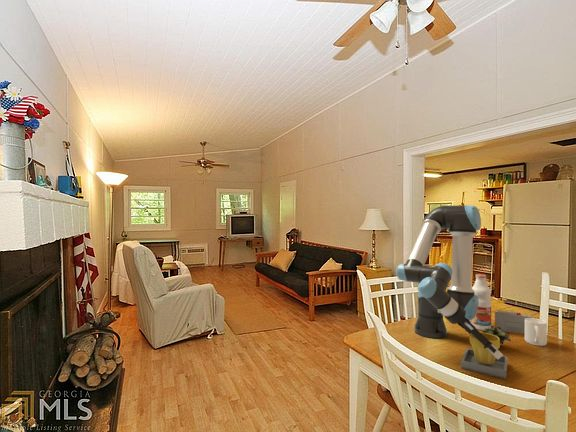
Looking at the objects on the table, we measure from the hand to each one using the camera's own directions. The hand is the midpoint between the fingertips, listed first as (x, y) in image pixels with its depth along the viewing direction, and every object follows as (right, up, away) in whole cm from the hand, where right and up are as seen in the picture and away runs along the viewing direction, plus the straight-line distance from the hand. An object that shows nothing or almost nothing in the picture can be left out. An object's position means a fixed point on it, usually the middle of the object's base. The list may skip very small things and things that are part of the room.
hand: (492, 350), depth 130 cm
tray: (-3, -6, 0) cm, 7 cm away
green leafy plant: (+13, -6, +19) cm, 23 cm away
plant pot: (-3, -4, 0) cm, 5 cm away
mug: (+34, -6, +22) cm, 41 cm away
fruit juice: (+21, -6, +43) cm, 49 cm away
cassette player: (+34, -6, +38) cm, 51 cm away
